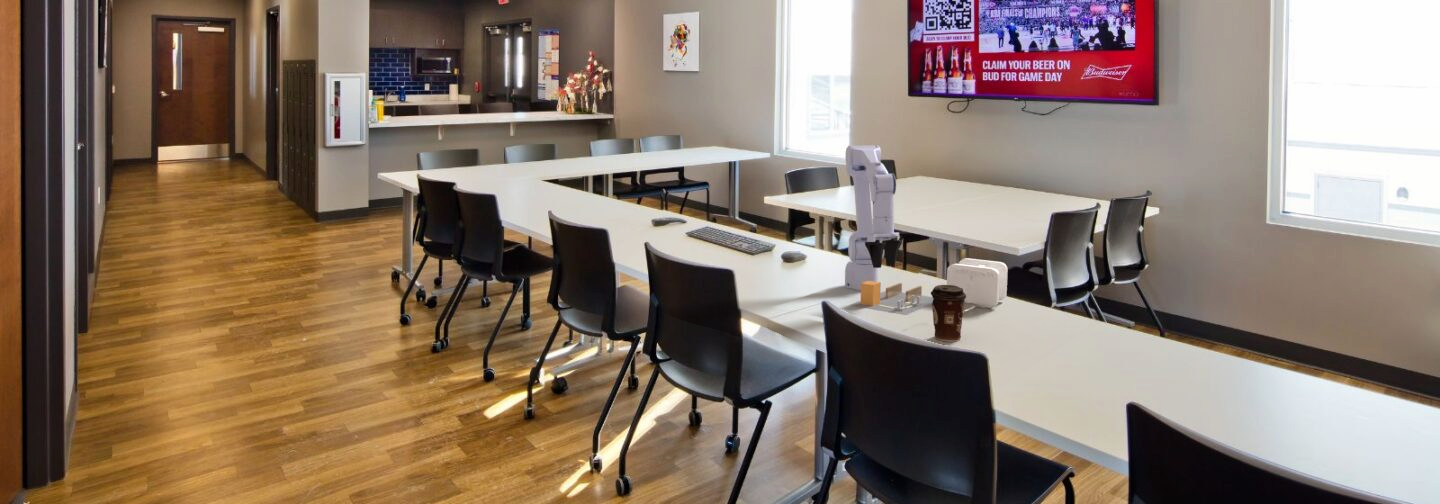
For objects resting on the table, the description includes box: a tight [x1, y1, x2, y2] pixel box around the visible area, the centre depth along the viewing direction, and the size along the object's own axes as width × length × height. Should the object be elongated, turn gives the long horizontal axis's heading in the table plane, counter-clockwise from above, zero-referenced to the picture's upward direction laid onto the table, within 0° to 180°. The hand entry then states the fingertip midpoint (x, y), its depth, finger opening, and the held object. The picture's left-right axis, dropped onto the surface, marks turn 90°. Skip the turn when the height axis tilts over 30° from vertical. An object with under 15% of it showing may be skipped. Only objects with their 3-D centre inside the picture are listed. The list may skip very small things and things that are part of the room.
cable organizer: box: [946, 257, 1009, 309], centre depth 264 cm, size 15×11×12 cm
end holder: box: [885, 282, 923, 302], centre depth 268 cm, size 7×8×3 cm
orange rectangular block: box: [860, 281, 882, 306], centre depth 261 cm, size 4×4×6 cm
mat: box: [849, 290, 933, 316], centre depth 263 cm, size 18×22×4 cm
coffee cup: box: [930, 284, 966, 343], centre depth 229 cm, size 9×8×13 cm
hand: (883, 266), depth 257 cm, fingers open, 7 cm apart
